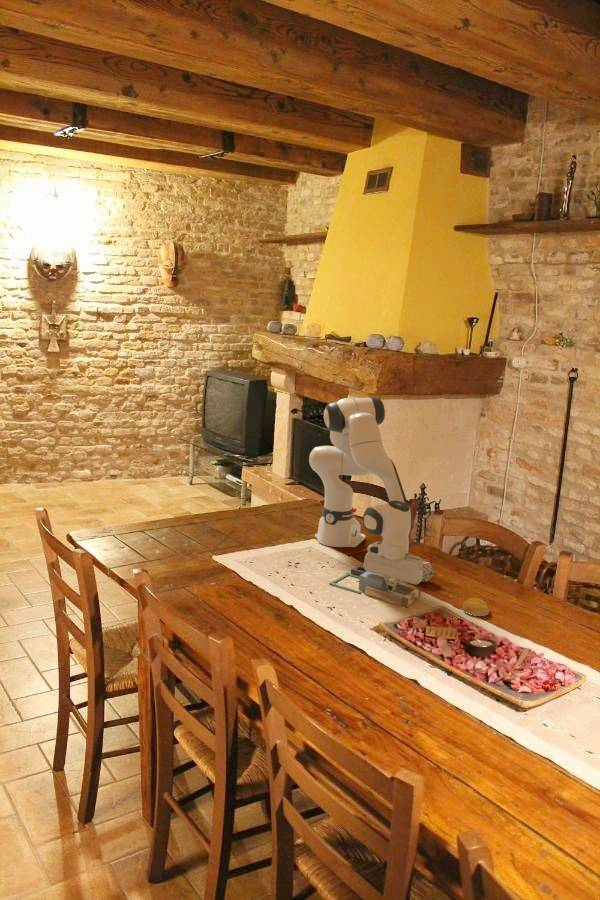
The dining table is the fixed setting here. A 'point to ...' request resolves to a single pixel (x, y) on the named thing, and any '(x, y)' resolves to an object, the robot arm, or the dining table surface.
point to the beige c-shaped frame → (404, 601)
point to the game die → (427, 571)
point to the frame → (343, 586)
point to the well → (358, 570)
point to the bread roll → (476, 607)
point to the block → (372, 581)
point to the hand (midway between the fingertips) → (391, 589)
